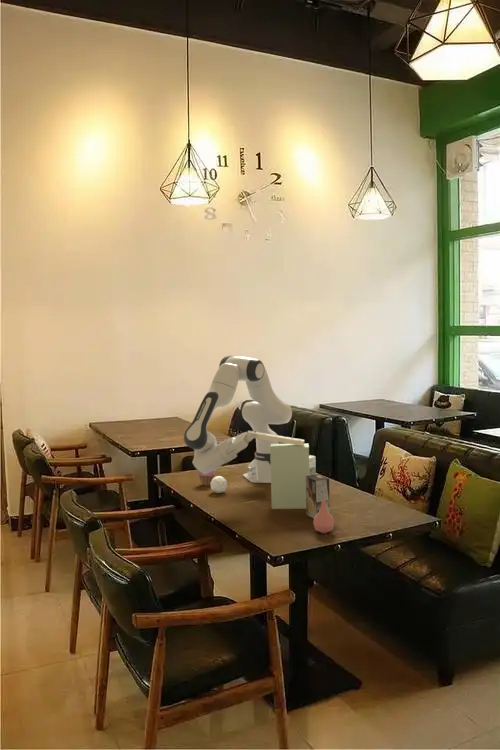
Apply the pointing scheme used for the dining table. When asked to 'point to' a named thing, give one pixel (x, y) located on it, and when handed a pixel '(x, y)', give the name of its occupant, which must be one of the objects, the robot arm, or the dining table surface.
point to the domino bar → (277, 438)
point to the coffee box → (316, 494)
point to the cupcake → (206, 477)
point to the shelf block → (289, 475)
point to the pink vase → (323, 520)
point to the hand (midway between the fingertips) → (256, 433)
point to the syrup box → (312, 465)
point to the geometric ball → (218, 484)
